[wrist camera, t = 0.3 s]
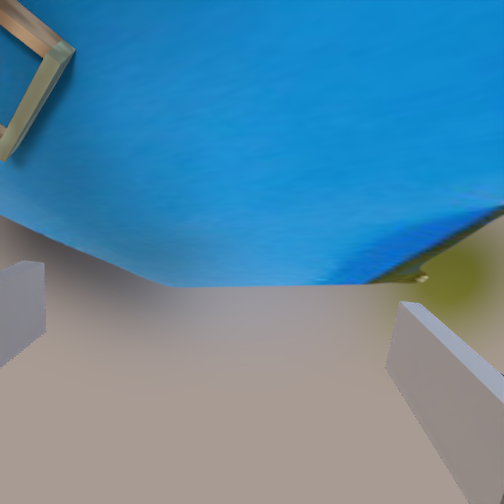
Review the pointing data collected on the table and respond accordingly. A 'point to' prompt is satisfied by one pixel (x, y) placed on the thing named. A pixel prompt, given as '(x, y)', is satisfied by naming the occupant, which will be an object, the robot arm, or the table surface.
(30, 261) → the robot arm
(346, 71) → the table surface
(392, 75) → the table surface
